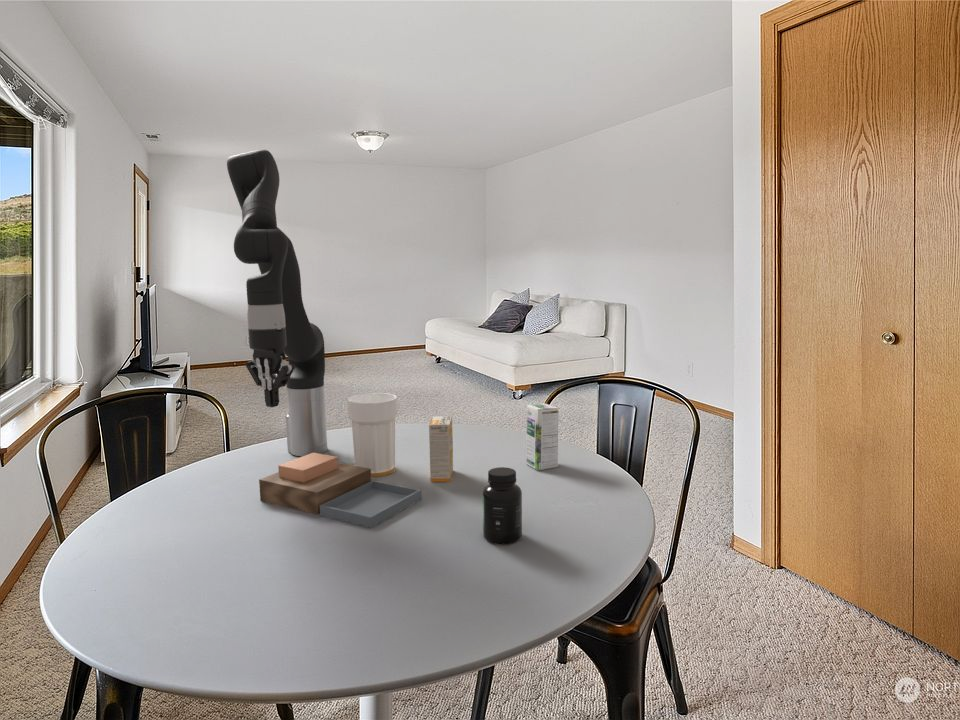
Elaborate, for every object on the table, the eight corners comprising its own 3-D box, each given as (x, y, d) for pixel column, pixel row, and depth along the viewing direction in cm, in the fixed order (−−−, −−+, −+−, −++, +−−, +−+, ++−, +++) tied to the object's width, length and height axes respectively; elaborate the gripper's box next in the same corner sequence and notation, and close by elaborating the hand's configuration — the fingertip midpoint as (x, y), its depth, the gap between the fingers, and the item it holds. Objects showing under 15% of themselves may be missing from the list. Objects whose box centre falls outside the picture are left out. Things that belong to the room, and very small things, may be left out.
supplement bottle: (476, 540, 111) (475, 474, 109) (493, 526, 117) (493, 463, 115) (512, 548, 108) (511, 480, 106) (528, 533, 114) (528, 468, 112)
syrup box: (525, 464, 152) (525, 404, 150) (546, 460, 154) (546, 402, 152) (537, 471, 147) (537, 409, 145) (559, 467, 149) (559, 407, 147)
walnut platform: (260, 500, 131) (259, 479, 130) (316, 477, 145) (315, 458, 144) (318, 514, 123) (317, 492, 122) (371, 488, 137) (370, 468, 136)
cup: (390, 480, 142) (387, 403, 140) (343, 477, 145) (339, 402, 142) (406, 464, 153) (403, 393, 151) (361, 461, 155) (358, 392, 153)
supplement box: (451, 482, 140) (450, 424, 138) (429, 482, 140) (428, 424, 138) (454, 470, 148) (452, 415, 146) (433, 470, 149) (431, 415, 147)
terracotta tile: (279, 477, 132) (278, 465, 131) (313, 463, 140) (313, 452, 140) (303, 482, 128) (303, 470, 128) (337, 468, 137) (337, 456, 136)
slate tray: (320, 515, 123) (319, 505, 123) (373, 489, 137) (372, 480, 136) (371, 527, 117) (370, 517, 116) (421, 499, 130) (421, 489, 130)
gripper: (231, 326, 134) (237, 406, 137) (274, 329, 127) (280, 413, 130) (259, 323, 141) (265, 399, 143) (302, 325, 134) (307, 406, 137)
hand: (272, 406), depth 137 cm, fingers closed
